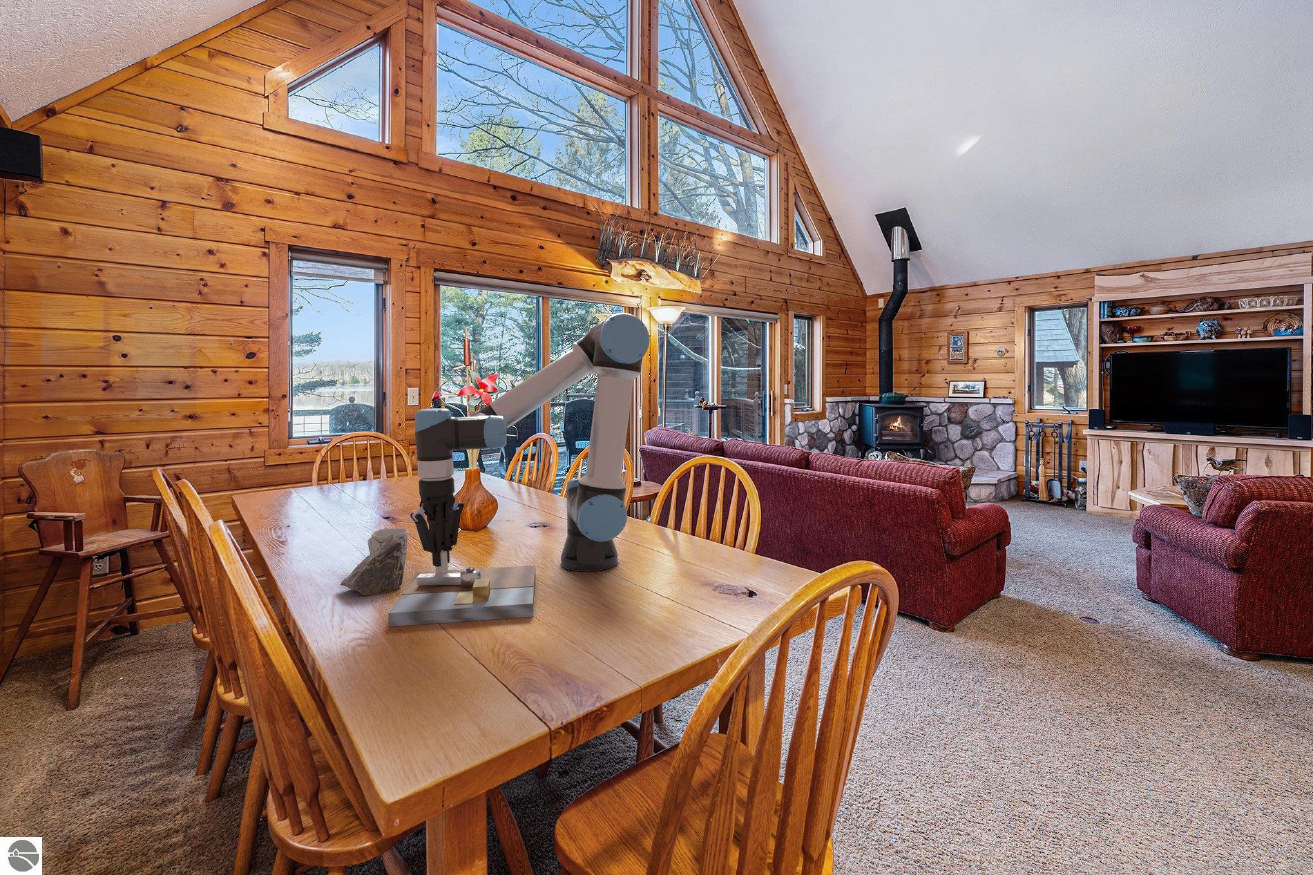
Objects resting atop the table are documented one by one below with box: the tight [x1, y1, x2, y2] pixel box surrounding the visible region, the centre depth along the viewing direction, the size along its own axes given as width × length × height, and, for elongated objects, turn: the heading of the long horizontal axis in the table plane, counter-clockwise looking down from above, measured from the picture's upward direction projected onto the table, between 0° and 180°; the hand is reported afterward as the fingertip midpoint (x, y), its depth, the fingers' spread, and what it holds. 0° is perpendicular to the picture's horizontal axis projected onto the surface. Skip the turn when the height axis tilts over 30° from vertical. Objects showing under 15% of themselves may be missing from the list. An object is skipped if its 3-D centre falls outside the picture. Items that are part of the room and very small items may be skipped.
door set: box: [387, 565, 537, 628], centre depth 132 cm, size 28×26×6 cm
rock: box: [339, 534, 404, 596], centre depth 140 cm, size 12×8×15 cm, turn 130°
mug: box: [367, 527, 409, 570], centre depth 152 cm, size 11×8×10 cm
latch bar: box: [417, 566, 481, 587], centre depth 133 cm, size 14×4×3 cm, turn 93°
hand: (442, 578), depth 135 cm, fingers closed
